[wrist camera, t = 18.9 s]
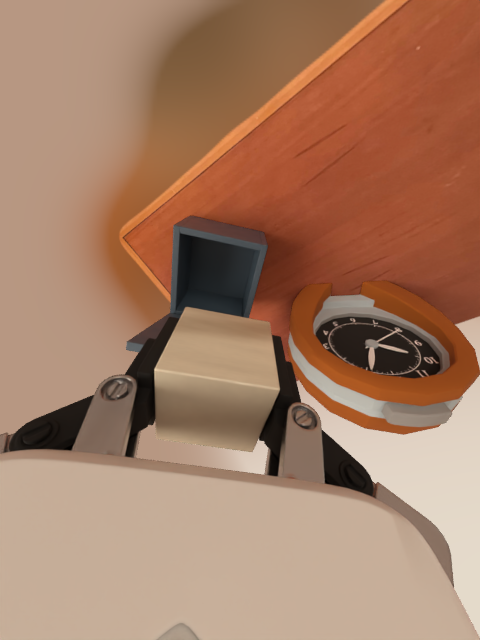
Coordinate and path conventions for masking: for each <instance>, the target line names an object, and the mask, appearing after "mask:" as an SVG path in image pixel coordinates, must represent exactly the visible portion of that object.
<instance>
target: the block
mask: <svg viewBox="0 0 480 640" xmlns="http://www.w3.org/2000/svg"><path fill="white" fill-rule="evenodd" d="M154 380H155V422H156V439H160V440H167V441H174V442H182V443H189V444H196V445H203V446H211V447H218V448H225V449H232V450H240V451H248V452H252V451H253V450H254V447H255V445H256V443H257V441H258V438H259V436H260V434H261V432H262V429H263V427H264V425H265V423H266V420H267V418H268V416H269V414H270V411H271V409H272V407H273V405H274V402H275V400H276V398H277V396H278V393H279V391H280V386H279V379H278V373H277V366H276V360H275V353H274V346H273V340H272V333H271V327H270V322H267V321H261V320H256V319H250V318H245V317H240V316H234V315H229V314H223V313H218V312H213V311H207V310H202V309H196V308H191V307H185V309H184V311H183V313H182V315H181V317H180V319H179V321H178V323H177V325H176V327H175V329H174V331H173V333H172V335H171V337H170V339H169V341H168V343H167V345H166V347H165V349H164V351H163V353H162V355H161V357H160V359H159V361H158V363H157V365H156V367H155V369H154Z"/></svg>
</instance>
